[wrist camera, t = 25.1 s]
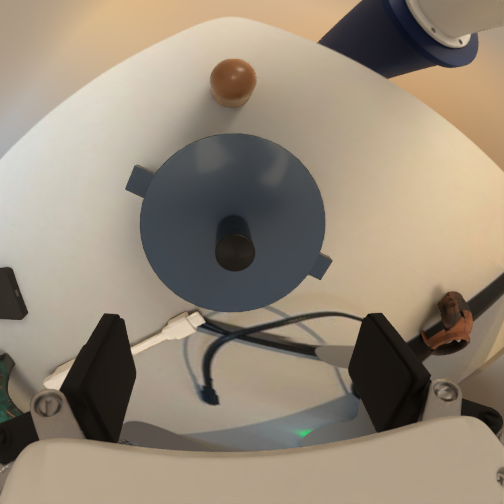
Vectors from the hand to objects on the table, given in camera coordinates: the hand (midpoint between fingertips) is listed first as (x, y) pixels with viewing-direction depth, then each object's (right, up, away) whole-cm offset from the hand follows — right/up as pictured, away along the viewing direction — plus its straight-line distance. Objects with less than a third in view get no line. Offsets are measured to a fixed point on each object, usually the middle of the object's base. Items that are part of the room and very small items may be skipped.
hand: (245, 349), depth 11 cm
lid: (-1, +6, +15) cm, 16 cm away
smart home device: (-44, -3, +21) cm, 49 cm away
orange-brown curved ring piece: (+31, -6, +29) cm, 43 cm away
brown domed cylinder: (-2, +20, +16) cm, 26 cm away
